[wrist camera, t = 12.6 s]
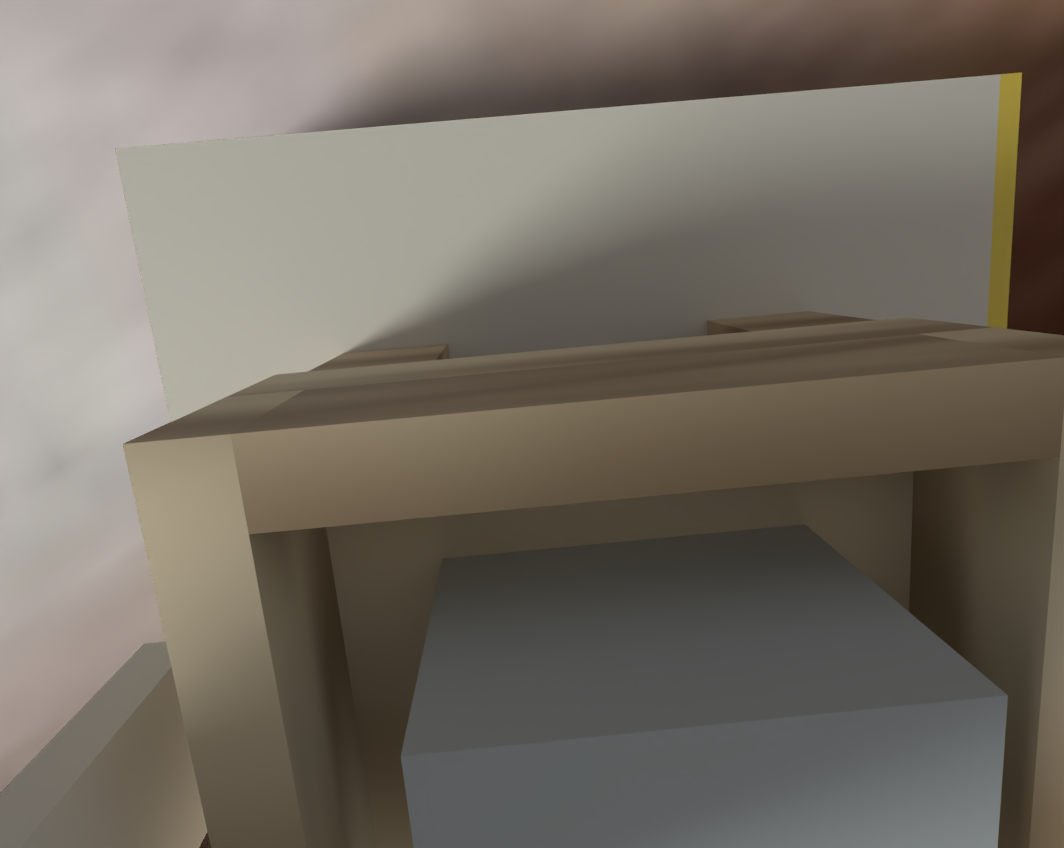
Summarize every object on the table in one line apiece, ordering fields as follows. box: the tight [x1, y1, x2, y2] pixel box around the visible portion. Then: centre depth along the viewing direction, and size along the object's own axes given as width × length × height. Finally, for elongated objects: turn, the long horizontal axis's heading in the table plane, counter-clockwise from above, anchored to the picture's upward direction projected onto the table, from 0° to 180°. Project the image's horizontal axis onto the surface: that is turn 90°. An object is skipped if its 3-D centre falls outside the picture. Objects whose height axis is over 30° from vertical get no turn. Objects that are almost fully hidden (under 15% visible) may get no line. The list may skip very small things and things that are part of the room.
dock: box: [115, 73, 1022, 422], centre depth 17 cm, size 18×16×5 cm
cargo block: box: [401, 524, 1008, 848], centre depth 8 cm, size 5×5×4 cm
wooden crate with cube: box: [123, 311, 1064, 848], centre depth 11 cm, size 10×10×7 cm
